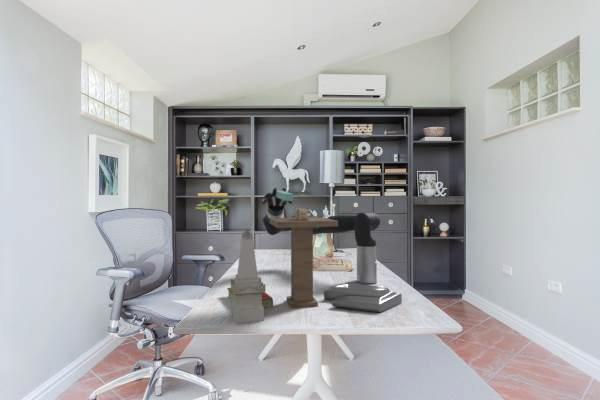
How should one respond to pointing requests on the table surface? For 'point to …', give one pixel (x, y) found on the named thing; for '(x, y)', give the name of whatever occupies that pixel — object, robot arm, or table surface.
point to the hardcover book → (266, 299)
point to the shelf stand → (302, 255)
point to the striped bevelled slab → (362, 297)
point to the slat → (284, 195)
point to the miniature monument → (247, 285)
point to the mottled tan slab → (332, 264)
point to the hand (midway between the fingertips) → (279, 189)
